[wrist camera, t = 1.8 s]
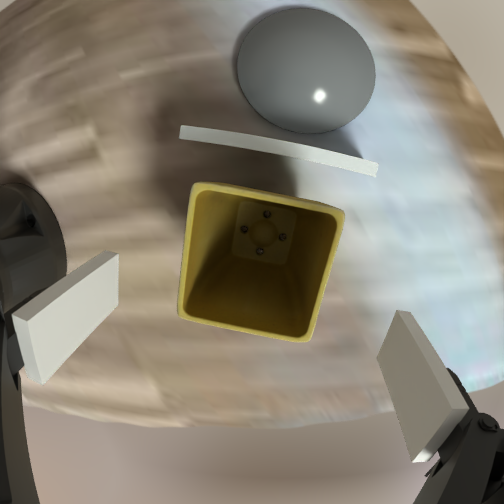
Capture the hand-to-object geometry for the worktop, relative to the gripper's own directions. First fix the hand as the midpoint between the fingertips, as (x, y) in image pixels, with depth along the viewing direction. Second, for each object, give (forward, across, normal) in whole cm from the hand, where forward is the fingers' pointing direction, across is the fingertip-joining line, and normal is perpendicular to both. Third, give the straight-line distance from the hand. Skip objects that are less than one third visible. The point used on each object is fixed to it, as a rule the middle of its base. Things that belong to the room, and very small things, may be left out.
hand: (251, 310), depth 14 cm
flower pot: (+14, 0, 0) cm, 14 cm away
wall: (+14, 0, +7) cm, 15 cm away
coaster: (+14, +1, +14) cm, 20 cm away
